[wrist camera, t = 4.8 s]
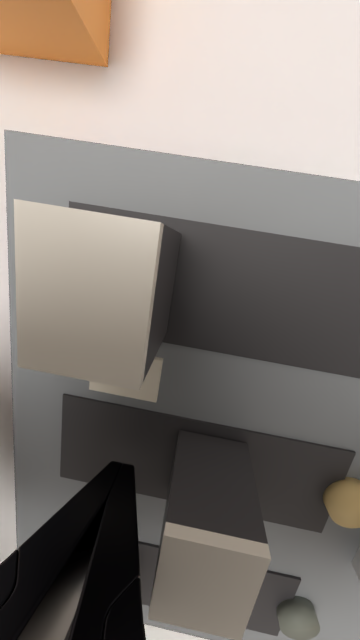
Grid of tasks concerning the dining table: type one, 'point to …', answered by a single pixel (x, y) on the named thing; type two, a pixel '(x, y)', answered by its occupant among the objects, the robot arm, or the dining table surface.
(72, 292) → the block
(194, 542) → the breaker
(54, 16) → the orange cube
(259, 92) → the dining table surface
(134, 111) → the dining table surface
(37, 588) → the robot arm
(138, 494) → the panel
